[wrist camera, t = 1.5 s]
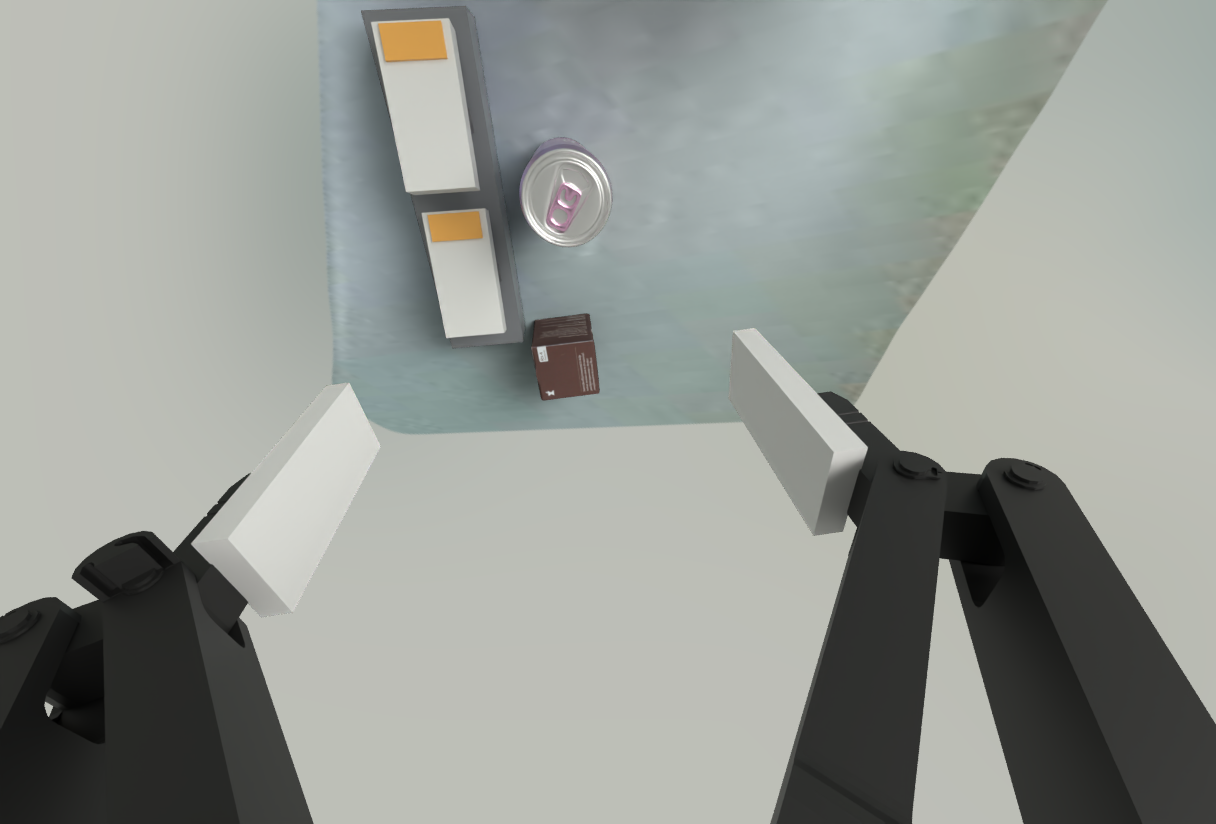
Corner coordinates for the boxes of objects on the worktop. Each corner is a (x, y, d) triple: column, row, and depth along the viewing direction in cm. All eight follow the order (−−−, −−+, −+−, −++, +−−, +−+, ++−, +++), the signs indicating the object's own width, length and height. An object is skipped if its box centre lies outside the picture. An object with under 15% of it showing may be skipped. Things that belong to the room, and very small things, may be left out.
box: (594, 362, 51) (600, 395, 45) (542, 368, 50) (541, 402, 44) (589, 311, 47) (595, 339, 41) (533, 318, 47) (530, 347, 41)
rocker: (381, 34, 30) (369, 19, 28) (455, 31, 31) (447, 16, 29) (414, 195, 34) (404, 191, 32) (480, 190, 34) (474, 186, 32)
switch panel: (380, 21, 33) (356, 8, 29) (474, 17, 33) (464, 3, 29) (459, 332, 47) (450, 351, 43) (525, 326, 47) (522, 345, 43)
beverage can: (519, 192, 40) (504, 224, 28) (544, 122, 38) (540, 123, 25) (578, 223, 42) (588, 266, 30) (606, 159, 40) (631, 177, 27)
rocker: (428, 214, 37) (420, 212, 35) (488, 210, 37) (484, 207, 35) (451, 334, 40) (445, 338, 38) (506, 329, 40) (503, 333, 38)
